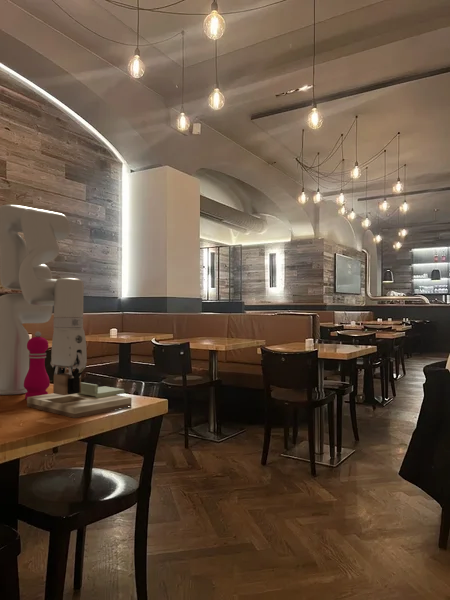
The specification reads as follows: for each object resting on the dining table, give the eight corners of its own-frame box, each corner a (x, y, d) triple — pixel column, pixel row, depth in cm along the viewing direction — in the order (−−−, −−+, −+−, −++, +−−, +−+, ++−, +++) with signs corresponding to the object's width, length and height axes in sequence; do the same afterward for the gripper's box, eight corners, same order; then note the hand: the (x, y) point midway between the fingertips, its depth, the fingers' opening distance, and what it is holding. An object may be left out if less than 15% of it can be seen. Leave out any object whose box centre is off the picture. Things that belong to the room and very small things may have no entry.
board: (26, 406, 124) (27, 397, 125) (83, 397, 139) (83, 389, 139) (74, 418, 111) (74, 407, 111) (131, 406, 125) (131, 397, 125)
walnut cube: (69, 390, 125) (70, 372, 125) (80, 392, 122) (81, 374, 122) (53, 393, 121) (53, 374, 121) (64, 395, 118) (64, 375, 118)
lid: (77, 394, 130) (77, 382, 130) (104, 390, 137) (104, 378, 137) (96, 397, 124) (97, 385, 124) (124, 393, 132) (124, 381, 132)
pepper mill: (40, 401, 132) (41, 332, 133) (17, 399, 133) (19, 331, 134) (54, 396, 139) (55, 331, 140) (33, 395, 141) (34, 330, 141)
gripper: (99, 324, 120) (98, 393, 120) (62, 323, 131) (61, 387, 130) (75, 324, 114) (73, 397, 114) (38, 324, 125) (36, 390, 124)
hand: (67, 391), depth 122 cm, fingers closed on walnut cube, 5 cm apart
